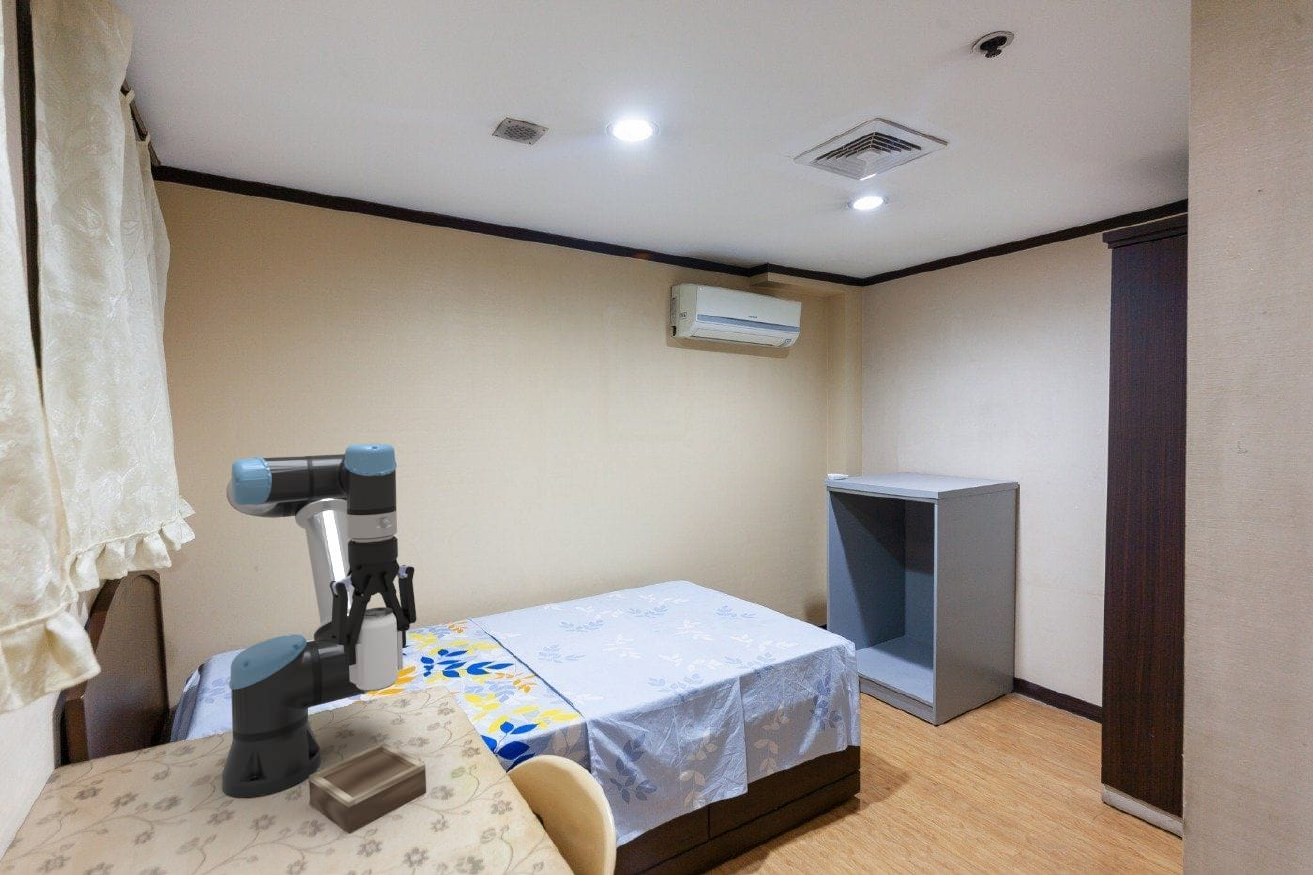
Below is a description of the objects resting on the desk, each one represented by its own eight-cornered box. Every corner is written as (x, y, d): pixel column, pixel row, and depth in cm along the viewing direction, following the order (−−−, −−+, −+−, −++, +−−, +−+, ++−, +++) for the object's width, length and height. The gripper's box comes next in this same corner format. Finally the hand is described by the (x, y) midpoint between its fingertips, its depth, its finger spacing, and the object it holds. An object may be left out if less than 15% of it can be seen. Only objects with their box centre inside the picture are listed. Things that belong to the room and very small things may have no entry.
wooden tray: (310, 804, 104) (308, 775, 104) (385, 768, 114) (384, 742, 114) (349, 833, 96) (348, 802, 96) (426, 792, 106) (425, 764, 106)
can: (383, 693, 101) (381, 619, 101) (347, 690, 102) (344, 617, 102) (406, 676, 108) (404, 607, 107) (371, 674, 109) (369, 605, 108)
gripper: (325, 551, 94) (330, 703, 95) (437, 530, 110) (440, 661, 111) (301, 545, 98) (305, 690, 99) (412, 526, 114) (415, 652, 115)
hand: (376, 674), depth 105 cm, fingers closed on can, 6 cm apart
